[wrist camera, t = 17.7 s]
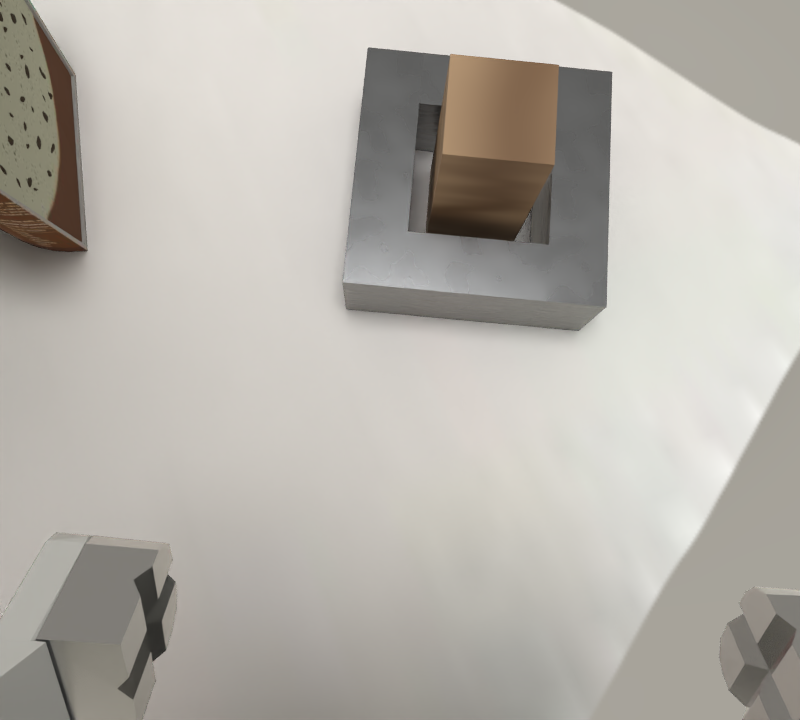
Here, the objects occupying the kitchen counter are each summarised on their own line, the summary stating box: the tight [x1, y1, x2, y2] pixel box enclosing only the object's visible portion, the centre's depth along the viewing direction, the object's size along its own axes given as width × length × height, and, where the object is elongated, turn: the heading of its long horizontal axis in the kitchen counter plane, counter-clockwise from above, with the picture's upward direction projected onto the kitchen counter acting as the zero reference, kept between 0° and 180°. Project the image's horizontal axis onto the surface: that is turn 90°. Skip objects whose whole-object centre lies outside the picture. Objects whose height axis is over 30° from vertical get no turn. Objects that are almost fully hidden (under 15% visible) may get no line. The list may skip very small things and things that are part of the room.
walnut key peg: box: [426, 54, 559, 241], centre depth 29 cm, size 4×4×9 cm
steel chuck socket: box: [343, 48, 612, 331], centre depth 32 cm, size 11×11×4 cm
